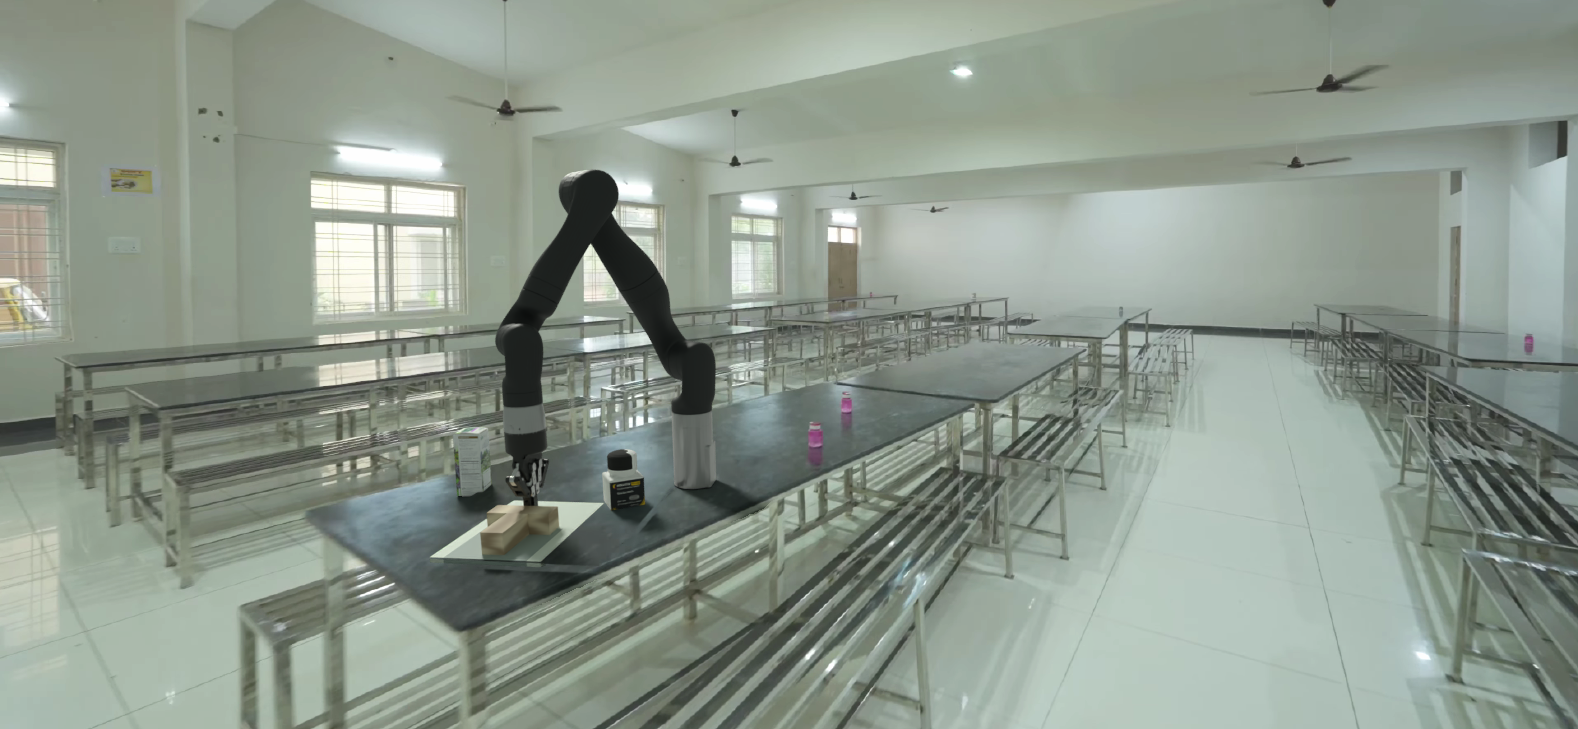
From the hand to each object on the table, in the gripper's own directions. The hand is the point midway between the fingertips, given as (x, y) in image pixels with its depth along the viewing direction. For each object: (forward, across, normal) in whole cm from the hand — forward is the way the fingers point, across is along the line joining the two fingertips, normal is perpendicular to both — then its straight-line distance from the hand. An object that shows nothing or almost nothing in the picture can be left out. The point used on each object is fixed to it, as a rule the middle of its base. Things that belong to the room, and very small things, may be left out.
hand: (531, 513), depth 129 cm
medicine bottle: (+3, +12, -14) cm, 19 cm away
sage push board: (+3, -3, 0) cm, 4 cm away
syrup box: (+3, +18, +23) cm, 29 cm away
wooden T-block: (+2, -8, -1) cm, 9 cm away
